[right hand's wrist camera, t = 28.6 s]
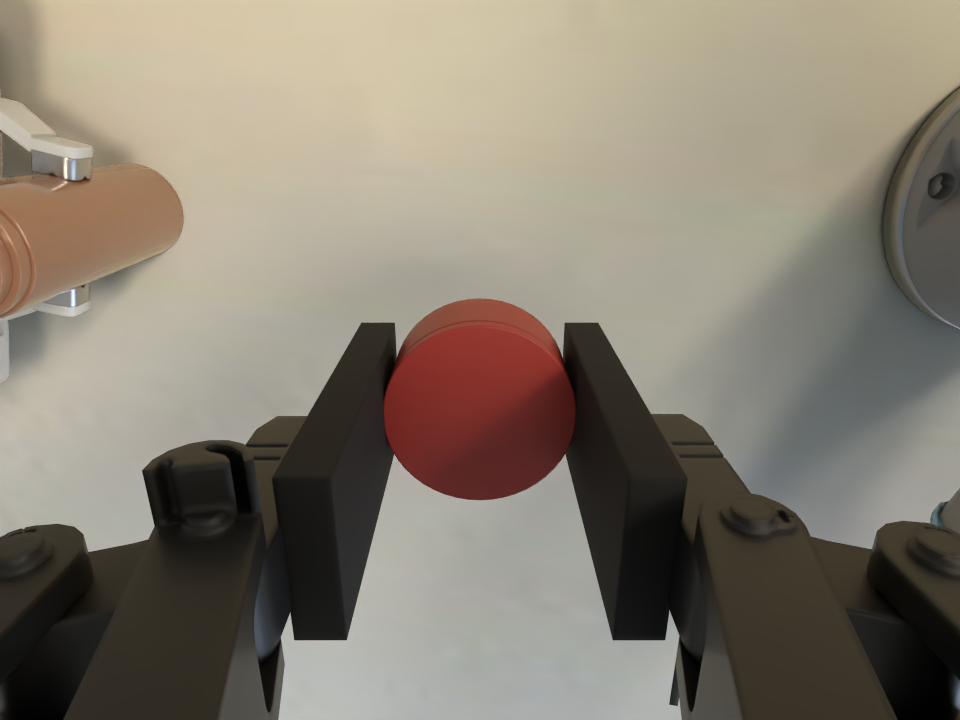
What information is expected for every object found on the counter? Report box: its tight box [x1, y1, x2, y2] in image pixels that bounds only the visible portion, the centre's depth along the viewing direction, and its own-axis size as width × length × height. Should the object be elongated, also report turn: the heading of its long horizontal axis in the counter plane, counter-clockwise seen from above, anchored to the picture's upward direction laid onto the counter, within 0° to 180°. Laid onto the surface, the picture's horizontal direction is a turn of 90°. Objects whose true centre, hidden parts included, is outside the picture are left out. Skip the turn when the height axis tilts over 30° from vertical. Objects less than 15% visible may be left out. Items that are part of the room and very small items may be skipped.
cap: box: [384, 299, 576, 500], centre depth 13 cm, size 4×4×2 cm
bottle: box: [0, 163, 183, 319], centre depth 27 cm, size 5×5×18 cm
